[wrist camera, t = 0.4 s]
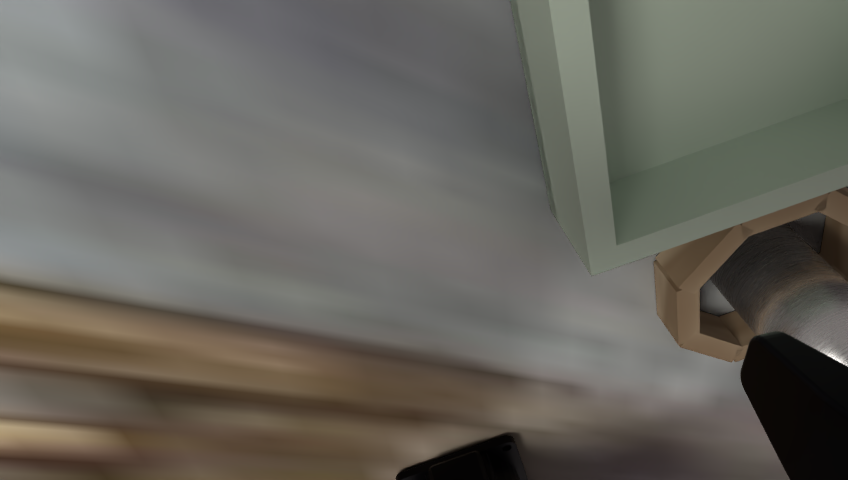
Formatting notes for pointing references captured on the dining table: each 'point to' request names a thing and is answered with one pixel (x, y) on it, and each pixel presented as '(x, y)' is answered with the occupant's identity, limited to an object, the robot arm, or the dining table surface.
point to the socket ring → (701, 258)
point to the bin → (682, 115)
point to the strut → (787, 291)
